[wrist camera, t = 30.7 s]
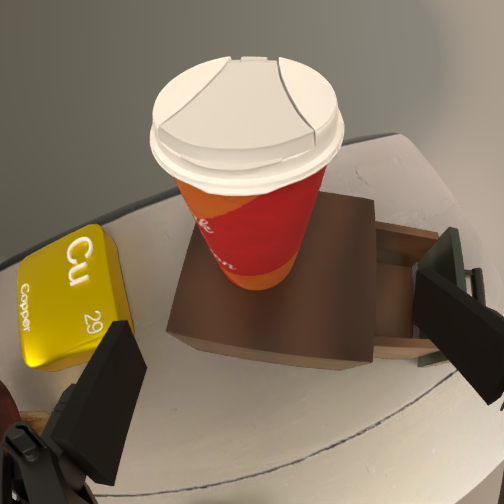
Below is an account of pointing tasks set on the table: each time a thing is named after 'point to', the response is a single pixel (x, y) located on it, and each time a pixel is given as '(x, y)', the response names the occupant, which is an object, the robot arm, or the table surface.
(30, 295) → the element tile
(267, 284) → the paper cup
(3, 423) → the decorative mushroom
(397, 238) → the drawer
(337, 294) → the cabinet
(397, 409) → the table surface
